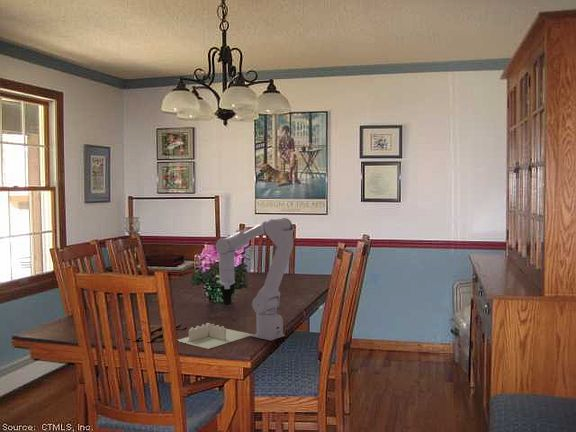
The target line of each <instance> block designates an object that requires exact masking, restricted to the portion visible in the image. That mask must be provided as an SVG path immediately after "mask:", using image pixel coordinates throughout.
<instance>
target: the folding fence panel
mask: <svg viewBox="0 0 576 432" xmlns="http://www.w3.org/2000/svg"><path fill="white" fill-rule="evenodd" d="M226 329H227V328H225V326H223V325H222V326H220V325H219V324H217V325H215V323H212V324H211V325H210V337H214V338H218V339H222V340H226Z"/></svg>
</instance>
